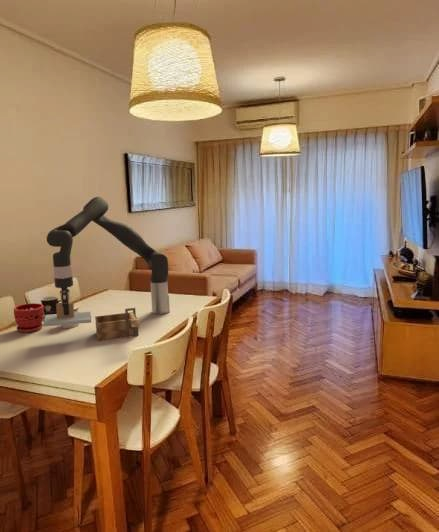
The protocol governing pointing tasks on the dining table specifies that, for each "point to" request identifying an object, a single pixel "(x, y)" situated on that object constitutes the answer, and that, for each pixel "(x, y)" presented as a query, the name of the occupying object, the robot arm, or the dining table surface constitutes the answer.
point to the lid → (66, 316)
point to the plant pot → (29, 317)
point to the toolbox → (115, 326)
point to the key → (133, 320)
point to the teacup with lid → (71, 324)
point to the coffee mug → (50, 305)
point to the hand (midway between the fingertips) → (66, 313)
